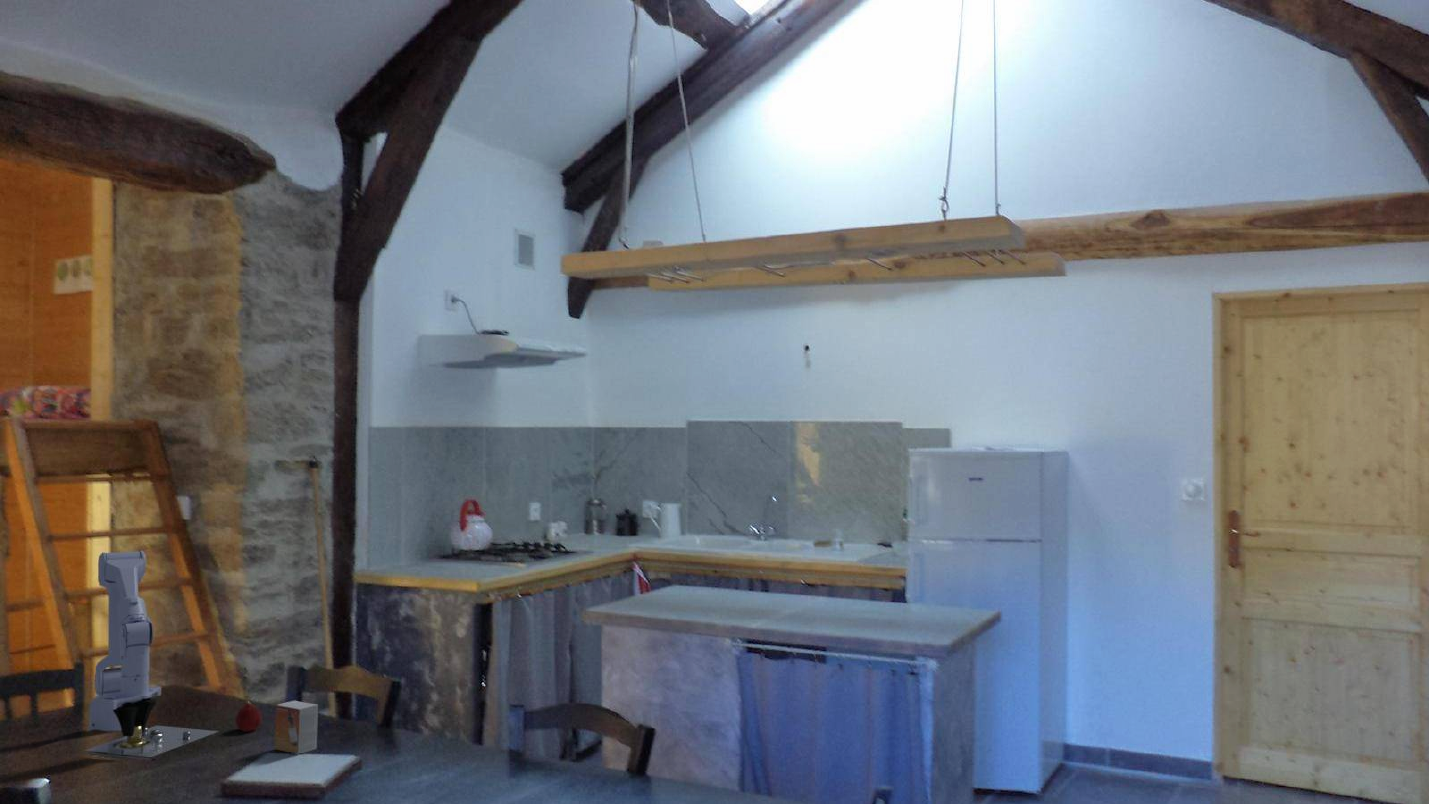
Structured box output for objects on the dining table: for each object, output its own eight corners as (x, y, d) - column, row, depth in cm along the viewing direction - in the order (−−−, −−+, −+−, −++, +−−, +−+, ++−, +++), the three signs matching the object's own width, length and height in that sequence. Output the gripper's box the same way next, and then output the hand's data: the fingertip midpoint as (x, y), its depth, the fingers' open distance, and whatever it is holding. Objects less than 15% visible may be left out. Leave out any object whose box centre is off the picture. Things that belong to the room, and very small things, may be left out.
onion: (265, 731, 269) (266, 698, 269) (253, 737, 263) (254, 704, 263) (243, 730, 269) (243, 698, 269) (230, 736, 263) (231, 703, 264)
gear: (113, 750, 248) (113, 728, 248) (134, 743, 254) (134, 721, 254) (133, 753, 246) (134, 730, 246) (154, 746, 252) (155, 724, 252)
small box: (273, 750, 253) (275, 704, 253) (293, 744, 258) (294, 699, 258) (298, 755, 249) (299, 709, 250) (317, 749, 254) (318, 703, 255)
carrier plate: (82, 755, 247) (82, 741, 247) (156, 729, 269) (156, 716, 269) (148, 762, 243) (149, 747, 243) (218, 735, 265) (219, 721, 265)
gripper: (125, 682, 242) (123, 743, 242) (172, 669, 256) (171, 727, 256) (99, 680, 244) (97, 741, 244) (147, 667, 258) (146, 724, 258)
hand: (133, 734), depth 250 cm, fingers closed on gear, 3 cm apart
